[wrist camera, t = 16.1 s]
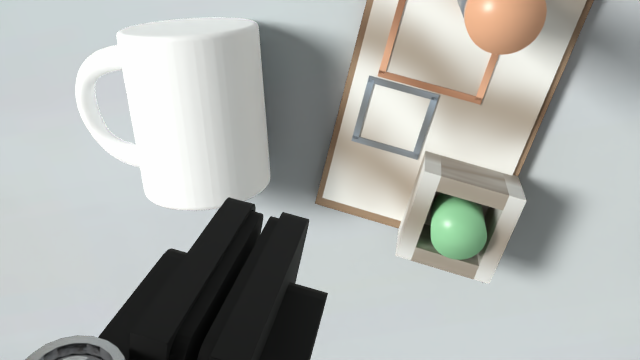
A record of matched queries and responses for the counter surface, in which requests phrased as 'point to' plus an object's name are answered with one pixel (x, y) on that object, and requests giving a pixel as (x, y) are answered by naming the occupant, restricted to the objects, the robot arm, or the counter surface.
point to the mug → (187, 109)
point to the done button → (457, 227)
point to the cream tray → (441, 123)
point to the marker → (503, 23)
